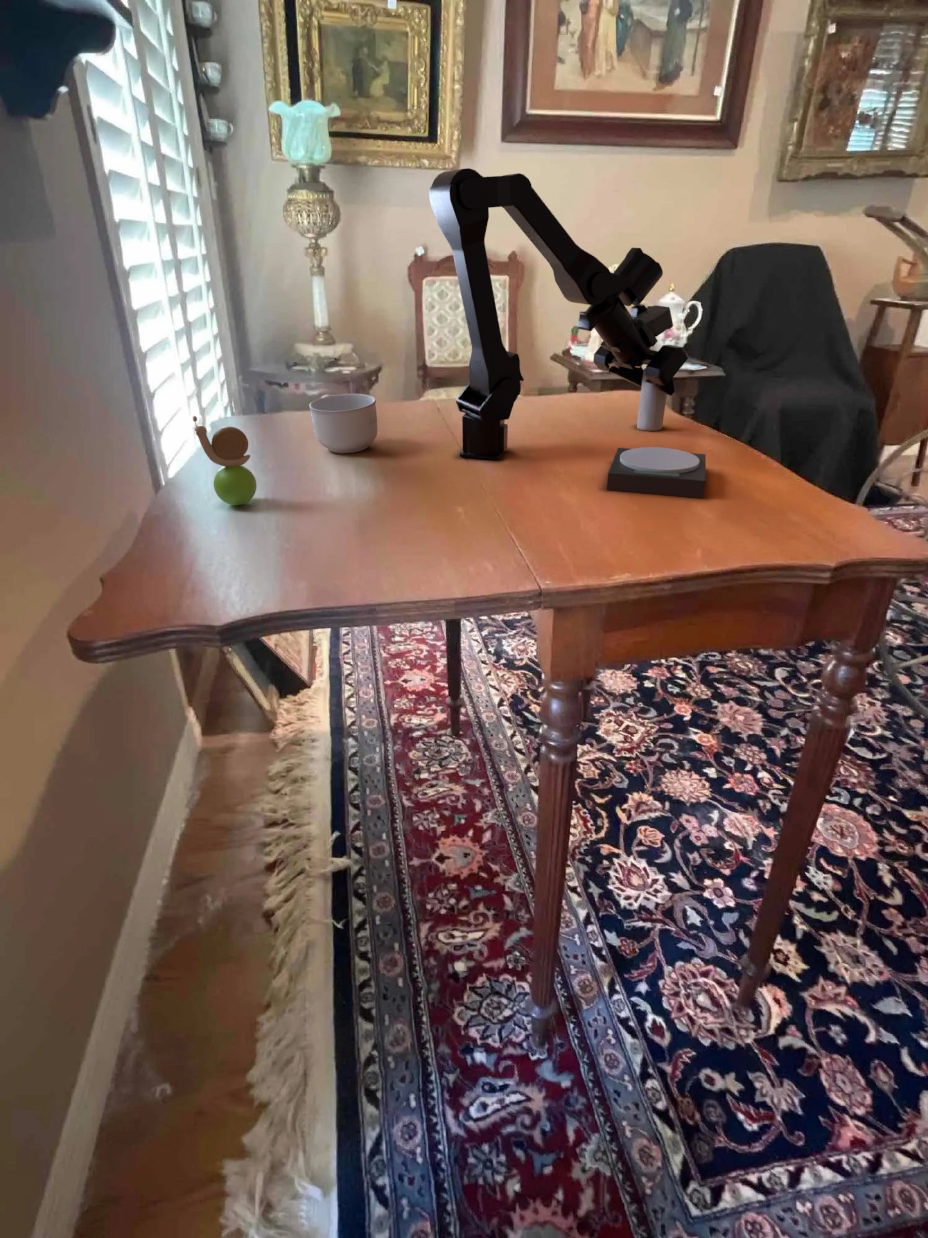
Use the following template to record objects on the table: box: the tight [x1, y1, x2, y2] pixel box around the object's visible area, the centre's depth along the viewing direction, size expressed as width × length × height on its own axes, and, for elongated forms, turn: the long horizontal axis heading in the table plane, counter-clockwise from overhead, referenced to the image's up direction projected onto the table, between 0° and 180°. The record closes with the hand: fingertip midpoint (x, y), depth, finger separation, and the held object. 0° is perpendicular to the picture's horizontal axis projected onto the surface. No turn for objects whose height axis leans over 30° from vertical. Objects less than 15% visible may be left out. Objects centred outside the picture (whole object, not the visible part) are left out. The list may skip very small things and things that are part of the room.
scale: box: [606, 446, 707, 499], centre depth 100 cm, size 13×13×3 cm
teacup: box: [308, 393, 378, 454], centre depth 116 cm, size 14×11×8 cm
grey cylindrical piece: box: [636, 367, 667, 432], centre depth 124 cm, size 4×4×10 cm
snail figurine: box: [192, 415, 257, 506], centre depth 90 cm, size 5×6×12 cm
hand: (659, 390), depth 124 cm, fingers open, 6 cm apart
